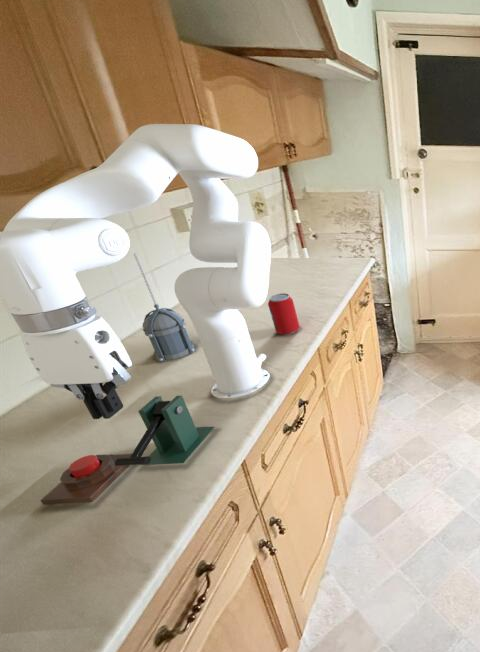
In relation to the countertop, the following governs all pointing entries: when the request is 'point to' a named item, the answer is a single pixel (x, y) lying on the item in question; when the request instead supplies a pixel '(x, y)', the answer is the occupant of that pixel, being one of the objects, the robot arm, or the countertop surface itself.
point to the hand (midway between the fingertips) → (109, 412)
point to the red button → (84, 466)
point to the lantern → (166, 332)
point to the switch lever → (145, 439)
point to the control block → (86, 482)
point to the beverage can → (283, 313)
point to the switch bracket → (173, 432)
